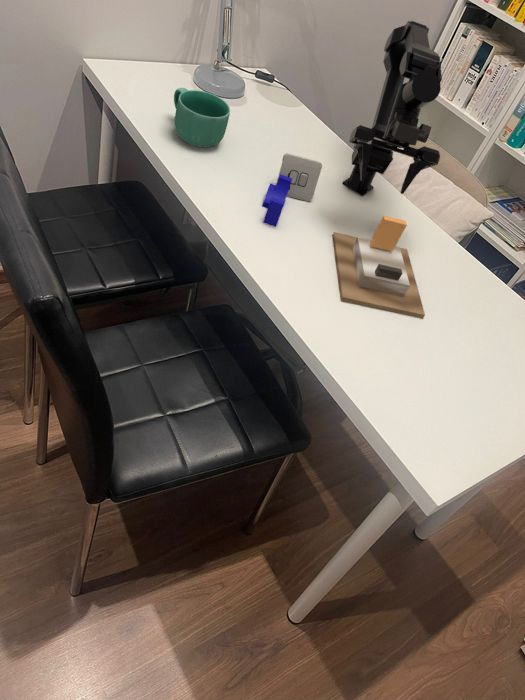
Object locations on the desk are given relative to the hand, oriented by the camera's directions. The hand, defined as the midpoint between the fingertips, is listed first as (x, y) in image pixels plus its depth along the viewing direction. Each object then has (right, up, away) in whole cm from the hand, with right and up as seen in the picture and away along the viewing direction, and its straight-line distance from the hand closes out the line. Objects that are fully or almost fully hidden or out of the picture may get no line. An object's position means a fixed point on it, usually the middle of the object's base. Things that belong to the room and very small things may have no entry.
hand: (381, 187), depth 123 cm
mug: (-43, +18, +20) cm, 51 cm away
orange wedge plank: (+1, -11, -2) cm, 11 cm away
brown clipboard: (-1, -19, +1) cm, 19 cm away
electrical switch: (-19, +3, +15) cm, 24 cm away
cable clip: (-24, -3, +8) cm, 25 cm away
